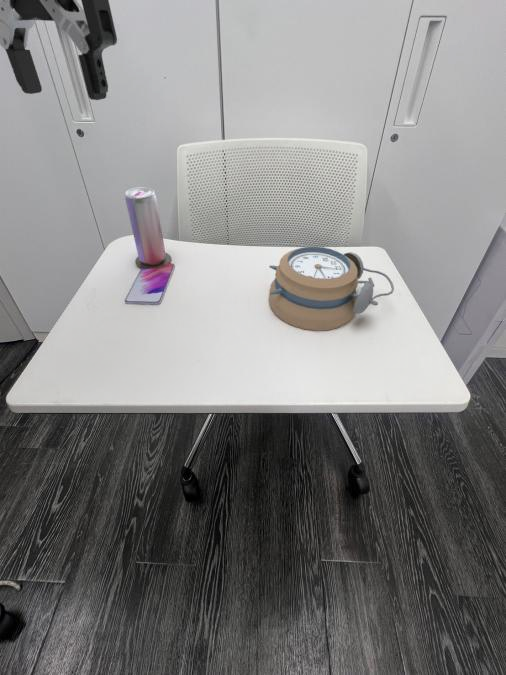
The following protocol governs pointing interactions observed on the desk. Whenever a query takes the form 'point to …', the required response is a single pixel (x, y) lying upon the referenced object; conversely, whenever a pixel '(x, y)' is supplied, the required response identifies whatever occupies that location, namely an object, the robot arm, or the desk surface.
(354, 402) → the desk surface
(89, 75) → the robot arm
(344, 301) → the alarm clock
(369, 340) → the desk surface
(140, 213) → the beverage can
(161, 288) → the smartphone
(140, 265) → the coaster
